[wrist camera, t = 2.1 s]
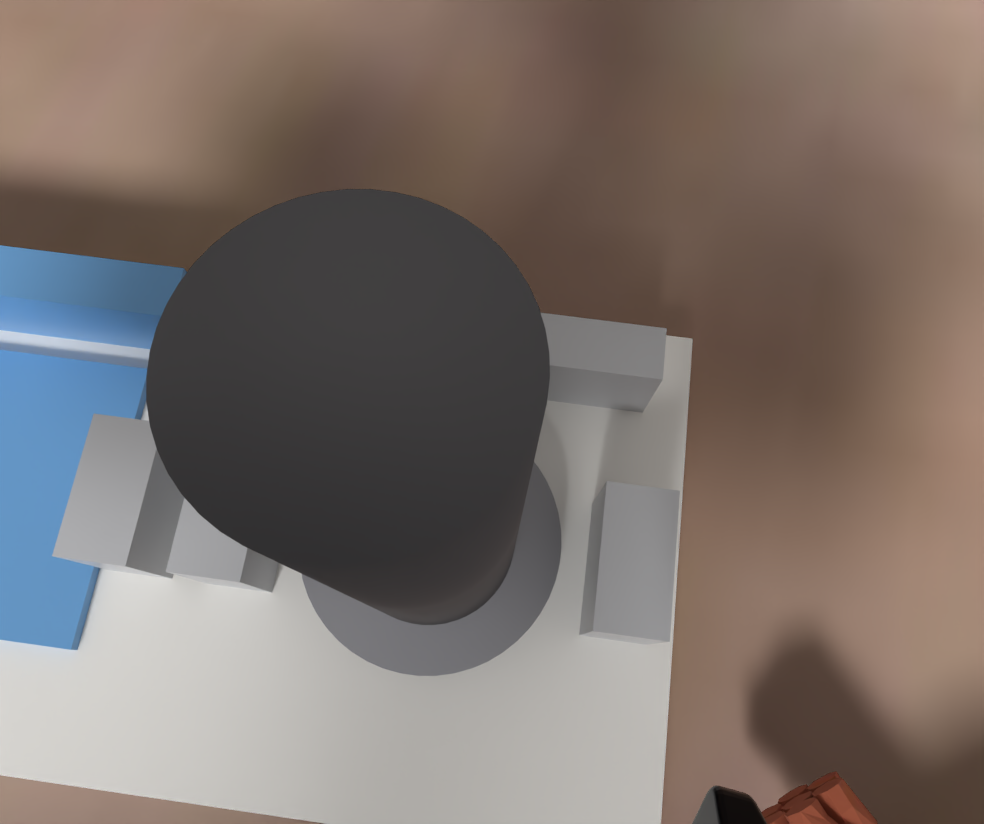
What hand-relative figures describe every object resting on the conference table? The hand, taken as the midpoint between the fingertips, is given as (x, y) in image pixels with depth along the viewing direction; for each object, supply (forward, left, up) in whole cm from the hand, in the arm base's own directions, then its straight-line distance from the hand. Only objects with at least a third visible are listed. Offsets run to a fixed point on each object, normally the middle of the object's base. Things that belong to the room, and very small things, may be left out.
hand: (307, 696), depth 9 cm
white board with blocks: (0, +6, -10) cm, 12 cm away
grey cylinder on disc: (+3, +1, -9) cm, 10 cm away
